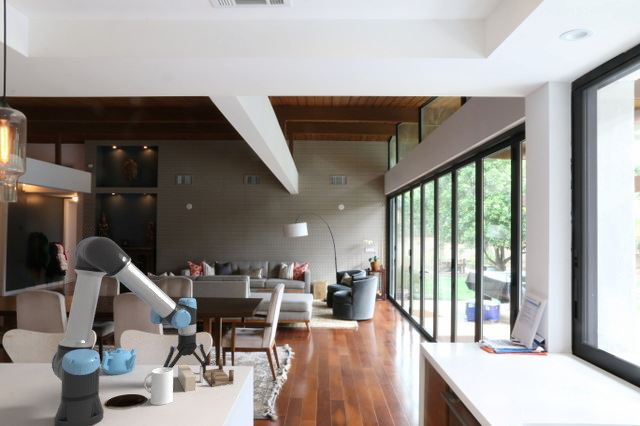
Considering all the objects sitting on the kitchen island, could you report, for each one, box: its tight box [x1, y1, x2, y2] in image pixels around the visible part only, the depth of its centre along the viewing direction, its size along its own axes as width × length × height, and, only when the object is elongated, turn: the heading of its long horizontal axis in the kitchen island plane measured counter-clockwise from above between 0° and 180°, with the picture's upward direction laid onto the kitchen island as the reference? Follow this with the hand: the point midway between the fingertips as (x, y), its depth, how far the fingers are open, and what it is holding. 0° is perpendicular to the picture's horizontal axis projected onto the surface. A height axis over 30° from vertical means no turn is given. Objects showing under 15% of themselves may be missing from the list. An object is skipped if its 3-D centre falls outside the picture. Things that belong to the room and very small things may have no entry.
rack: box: [202, 358, 235, 388], centre depth 204 cm, size 22×10×6 cm, turn 26°
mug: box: [143, 367, 174, 406], centre depth 175 cm, size 12×8×12 cm
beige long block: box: [177, 363, 197, 393], centre depth 196 cm, size 20×4×6 cm, turn 26°
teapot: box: [100, 347, 137, 376], centre depth 214 cm, size 15×15×11 cm
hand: (186, 383), depth 196 cm, fingers open, 12 cm apart
